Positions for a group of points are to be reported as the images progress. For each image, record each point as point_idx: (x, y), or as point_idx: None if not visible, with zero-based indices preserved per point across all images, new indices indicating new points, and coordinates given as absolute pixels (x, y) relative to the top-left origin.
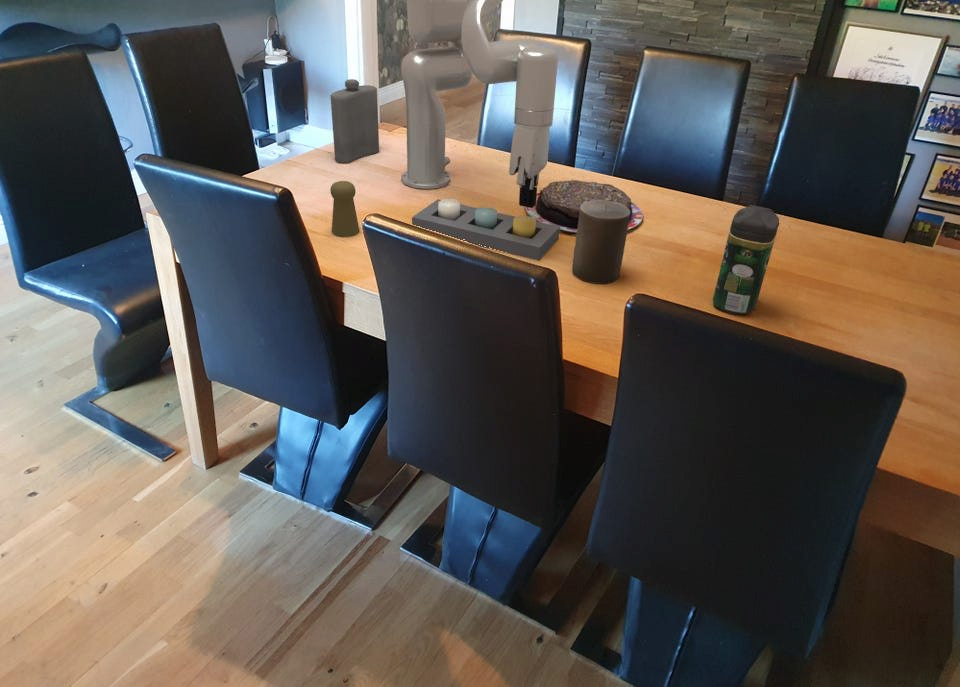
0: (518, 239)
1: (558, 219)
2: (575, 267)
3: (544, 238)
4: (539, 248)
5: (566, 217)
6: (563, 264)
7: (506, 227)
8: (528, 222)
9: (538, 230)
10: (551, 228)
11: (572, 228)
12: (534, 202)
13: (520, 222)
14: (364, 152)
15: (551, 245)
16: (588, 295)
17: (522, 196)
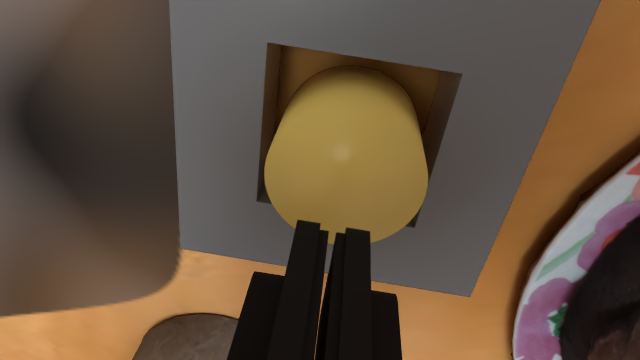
0: (211, 140)
1: (627, 260)
2: (143, 349)
3: None
4: (182, 243)
5: (620, 307)
6: (224, 286)
7: (357, 25)
8: (315, 209)
9: None
10: (431, 266)
11: (571, 298)
12: (316, 347)
13: (294, 163)
14: None
15: None
16: (68, 356)
17: (241, 321)
